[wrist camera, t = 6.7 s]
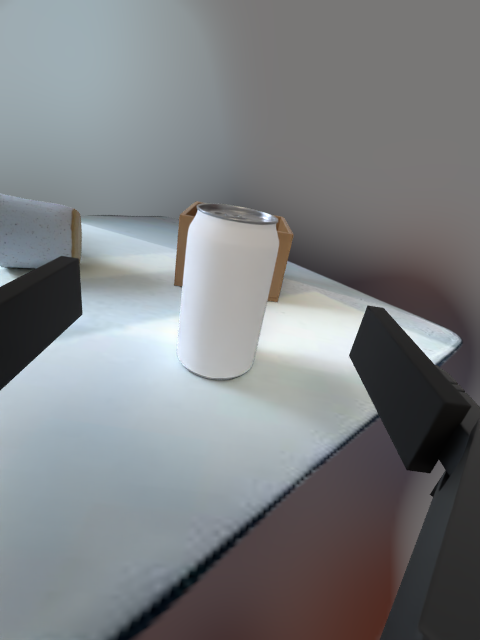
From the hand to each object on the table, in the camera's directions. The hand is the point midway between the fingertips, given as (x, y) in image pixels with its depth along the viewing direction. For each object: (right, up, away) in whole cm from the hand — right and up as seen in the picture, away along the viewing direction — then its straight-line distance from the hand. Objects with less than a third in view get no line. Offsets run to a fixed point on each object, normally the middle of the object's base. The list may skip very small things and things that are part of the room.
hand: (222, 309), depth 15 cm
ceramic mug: (-23, +6, +25) cm, 34 cm away
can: (-1, -4, +13) cm, 13 cm away
